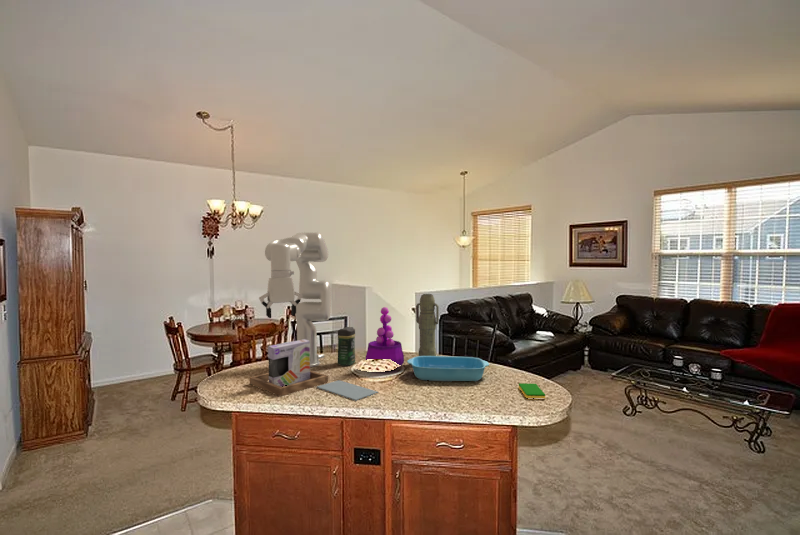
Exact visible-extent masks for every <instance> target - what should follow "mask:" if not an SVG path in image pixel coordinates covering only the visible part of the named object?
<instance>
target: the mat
mask: <svg viewBox="0 0 800 535" xmlns="http://www.w3.org/2000/svg"><path fill="white" fill-rule="evenodd" d="M318 388H319V389H318ZM316 389H318V390H321V389H322V391H324V390H325V392H327V391H329V392H328V393H330V392H332V393H331V394H333V393H335V394H334V395H336V394H338V395H337V396H339V395H341V396H340V397H342V396H344V397H343V398H345V397H346V398H345V399H348V398H350V399H349V400H351V399H352V401H354V400H355V402H358V401H360V400H359V399H361V400H363V399H362V398H364V397H366V398H368V397H367V396H369V397H372V396H374V395H373V394H375V393H378V394H379V391H377V390H373V389H370V388H366V387H363V386H361V385H357V384H353V383H349V382H346V381H344V380H339V379H337V380H335V381H331V382H328V383H325V384H322V385H318V386H316ZM371 395H372V396H371ZM375 395H376V394H375ZM364 399H365V398H364ZM357 400H358V401H357Z"/></svg>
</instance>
